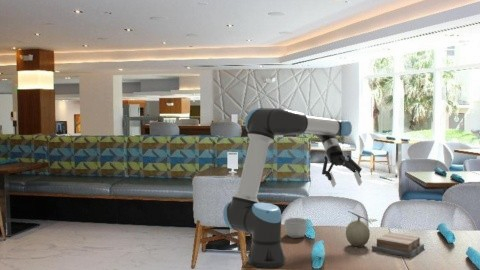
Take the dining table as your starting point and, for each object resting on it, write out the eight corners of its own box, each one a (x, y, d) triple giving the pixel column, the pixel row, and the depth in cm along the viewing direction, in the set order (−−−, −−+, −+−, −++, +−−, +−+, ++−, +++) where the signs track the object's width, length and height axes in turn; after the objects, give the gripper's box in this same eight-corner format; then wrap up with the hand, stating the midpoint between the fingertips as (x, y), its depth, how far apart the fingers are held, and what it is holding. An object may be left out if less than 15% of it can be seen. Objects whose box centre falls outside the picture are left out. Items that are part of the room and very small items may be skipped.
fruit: (372, 249, 219) (372, 216, 218) (345, 248, 221) (346, 215, 220) (370, 243, 229) (371, 211, 228) (345, 242, 231) (345, 210, 230)
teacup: (307, 239, 235) (307, 222, 235) (284, 239, 236) (284, 222, 235) (304, 231, 249) (304, 216, 249) (282, 231, 249) (283, 216, 249)
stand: (410, 257, 208) (410, 245, 207) (371, 250, 218) (372, 239, 218) (424, 248, 221) (424, 237, 220) (387, 241, 231) (387, 231, 231)
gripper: (352, 153, 253) (368, 187, 239) (307, 155, 246) (320, 190, 232) (358, 144, 247) (374, 178, 234) (312, 145, 240) (325, 181, 227)
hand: (347, 184), depth 233 cm, fingers open, 13 cm apart
